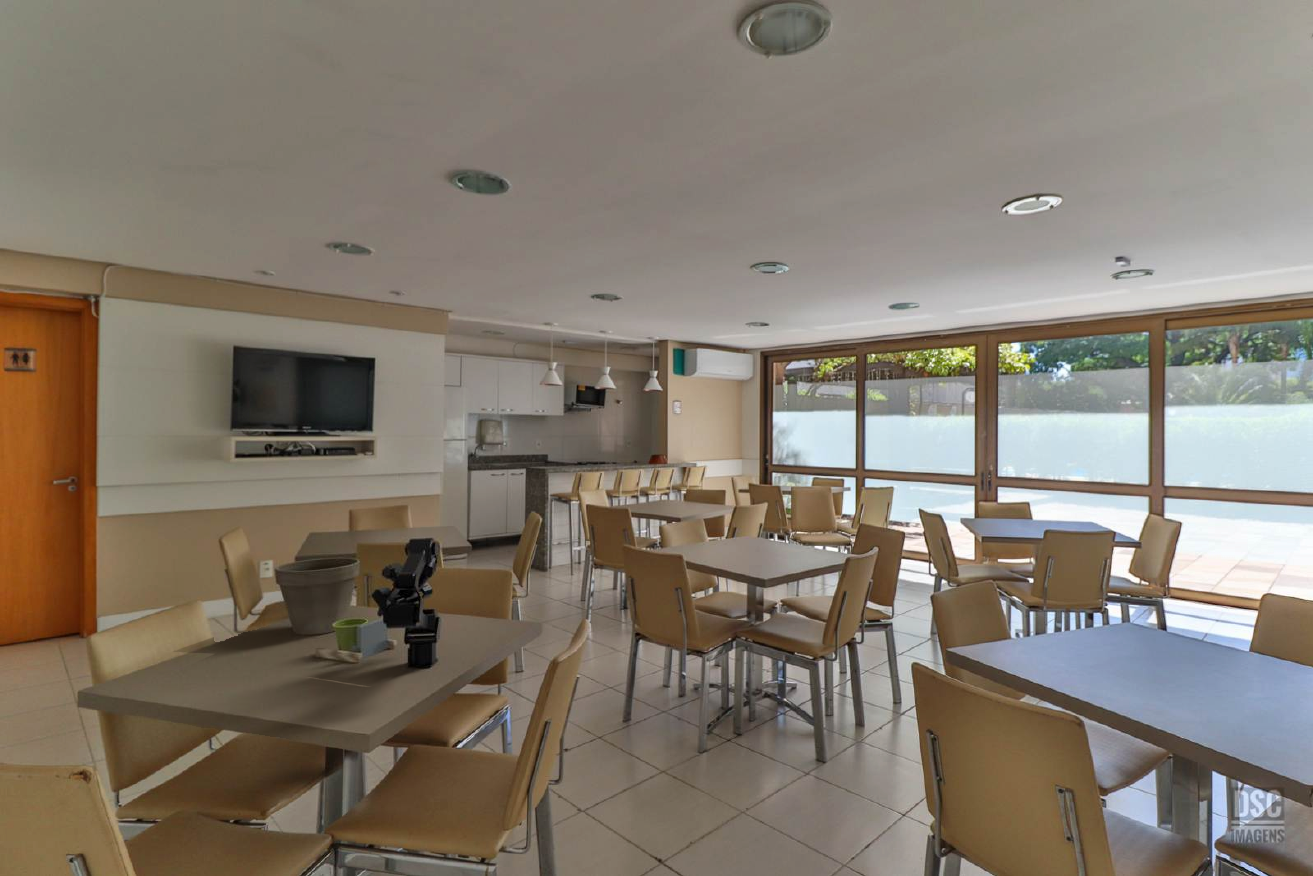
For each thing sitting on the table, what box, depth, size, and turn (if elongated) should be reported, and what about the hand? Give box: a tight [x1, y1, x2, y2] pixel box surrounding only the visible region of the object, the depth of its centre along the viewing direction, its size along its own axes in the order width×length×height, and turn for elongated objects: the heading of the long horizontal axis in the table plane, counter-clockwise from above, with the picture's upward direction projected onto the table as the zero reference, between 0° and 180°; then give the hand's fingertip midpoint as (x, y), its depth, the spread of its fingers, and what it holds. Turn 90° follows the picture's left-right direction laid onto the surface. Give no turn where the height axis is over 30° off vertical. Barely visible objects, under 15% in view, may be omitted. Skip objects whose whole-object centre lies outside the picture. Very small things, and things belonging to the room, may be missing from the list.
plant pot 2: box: [333, 617, 369, 652], centre depth 191 cm, size 9×9×9 cm
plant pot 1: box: [274, 557, 361, 636], centre depth 216 cm, size 25×25×22 cm
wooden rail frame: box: [315, 638, 398, 663], centre depth 190 cm, size 16×14×2 cm
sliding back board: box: [351, 617, 389, 660], centre depth 189 cm, size 4×10×9 cm, turn 159°
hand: (387, 612), depth 187 cm, fingers open, 6 cm apart
